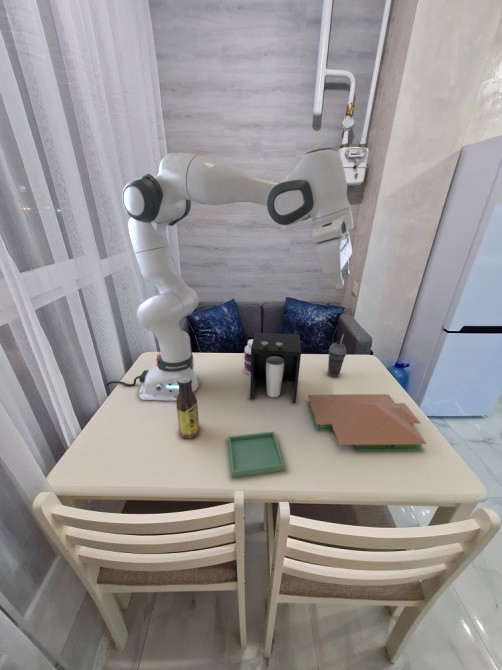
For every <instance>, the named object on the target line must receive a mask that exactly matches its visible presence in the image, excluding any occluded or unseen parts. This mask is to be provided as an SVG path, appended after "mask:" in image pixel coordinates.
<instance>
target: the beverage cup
mask: <svg viewBox="0 0 502 670" xmlns="http://www.w3.org/2000/svg"><path fill="white" fill-rule="evenodd" d="M344 336H345V333H342V335H341V339H340V342H339V341H336V342H333V343H331V344H330V346H329V348H328V351H327V352H328V362H327V363H328V366H327V376H329V377H330V378H332V379H338V378H339V376H340V374H341V371H342V367H343V364H344V361H345V358H346V355H347V348H346V346H345V344H344V343H342V342H343V339H344Z"/></svg>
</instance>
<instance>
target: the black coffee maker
mask: <svg viewBox="0 0 502 670" xmlns="http://www.w3.org/2000/svg"><path fill="white" fill-rule="evenodd" d="M252 339H253V343H252V347H251V374H250V382H249V383H250V386H249V387H250V389H249V391H250V393H249V396H250V398H249V400H254V395H255V389H256V383H257V381H266V359H267V358H268V357H271V356H278V357H281V358H283V359H284V373H283V378H282V383H283V382H284V383H291V388H292V404H296V403H297V396H298V385H299V377H300V367H301V358H302V348H301V340H300V339H301V338H300V334H293V333H292V334H291V333H277V332H276V333H275V332H274V333H272V332H257V331H256V332H254V335H253V338H252Z"/></svg>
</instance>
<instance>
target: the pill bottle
mask: <svg viewBox="0 0 502 670" xmlns="http://www.w3.org/2000/svg"><path fill="white" fill-rule="evenodd" d="M253 339H254V338H252V339H249V340H247V345H246V346H244V362H243V366H244V367H243V368H244V372H245V373H246V374H248V375H251V347H252V343H253Z"/></svg>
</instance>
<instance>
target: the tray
mask: <svg viewBox="0 0 502 670" xmlns="http://www.w3.org/2000/svg"><path fill="white" fill-rule="evenodd" d="M227 439H228V450H229V451H228V452H229V461H230V470H231V478H239V477H247V476H253V475H254V476H255V475H261V474H269V473H277V472H284V471H285V463H284V459H283V456H282V453H281V450H280V447H279V444H278V440H277V438H276V435H275V432H274V431H267V432H257V433H250V434H241V435H232V436H228V437H227Z"/></svg>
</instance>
